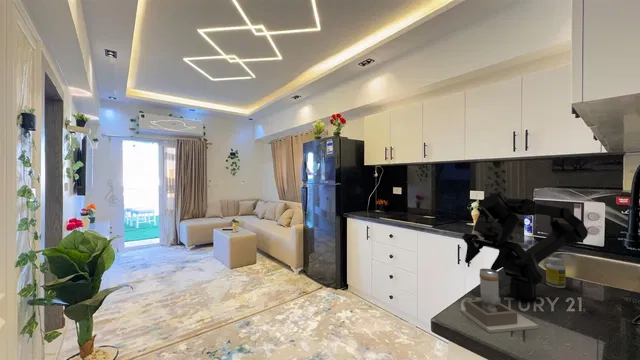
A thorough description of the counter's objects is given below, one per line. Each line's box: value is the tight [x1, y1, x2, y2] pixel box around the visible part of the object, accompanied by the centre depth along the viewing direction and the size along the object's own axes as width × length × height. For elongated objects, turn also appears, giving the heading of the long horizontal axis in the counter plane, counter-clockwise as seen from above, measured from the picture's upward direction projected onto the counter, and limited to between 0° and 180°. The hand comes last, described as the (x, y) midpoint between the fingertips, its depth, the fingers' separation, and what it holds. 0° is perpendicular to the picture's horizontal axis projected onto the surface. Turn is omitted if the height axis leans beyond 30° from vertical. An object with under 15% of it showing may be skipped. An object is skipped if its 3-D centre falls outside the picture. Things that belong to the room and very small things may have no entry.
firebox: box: [459, 298, 539, 334], centre depth 76 cm, size 14×12×4 cm
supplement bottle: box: [545, 257, 567, 289], centre depth 98 cm, size 5×5×10 cm
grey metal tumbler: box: [479, 268, 500, 313], centre depth 75 cm, size 5×5×13 cm
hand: (478, 266), depth 83 cm, fingers open, 9 cm apart
